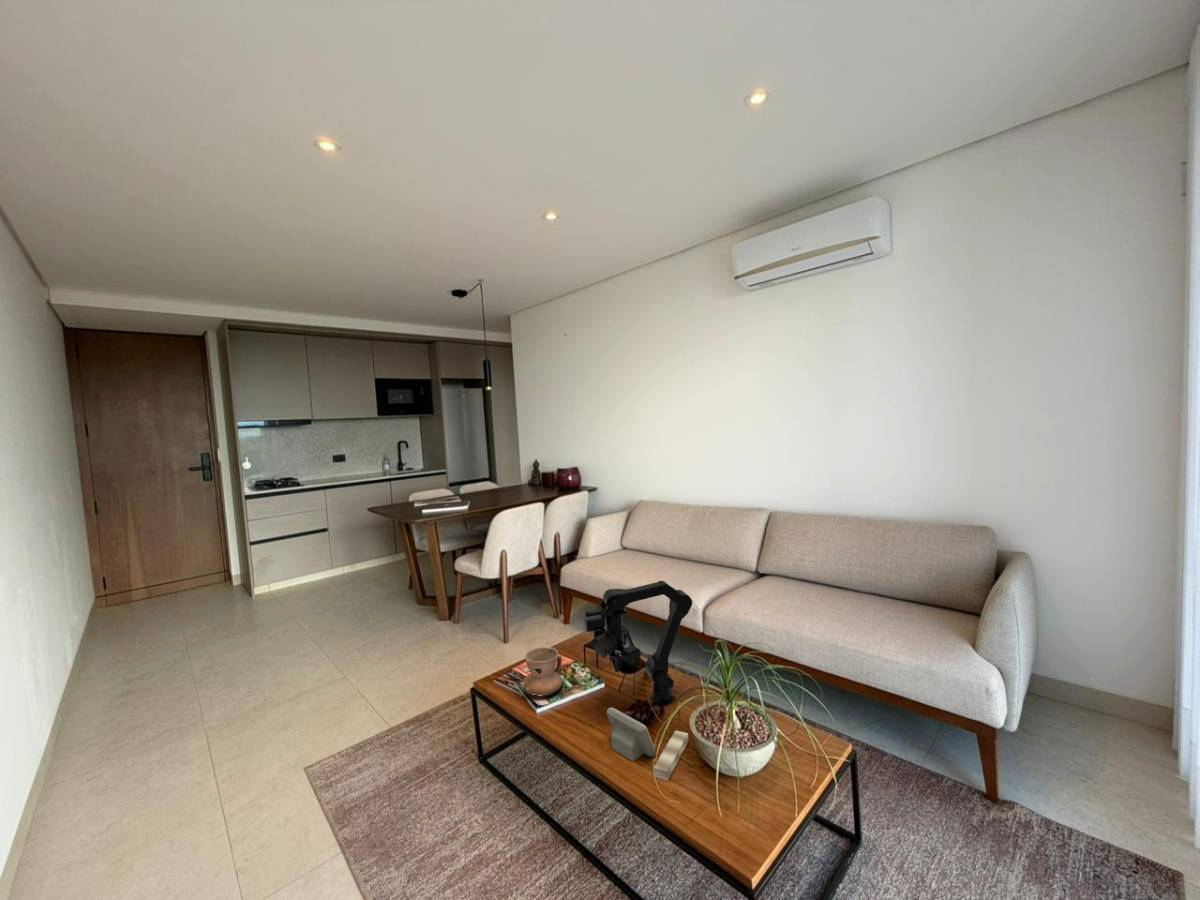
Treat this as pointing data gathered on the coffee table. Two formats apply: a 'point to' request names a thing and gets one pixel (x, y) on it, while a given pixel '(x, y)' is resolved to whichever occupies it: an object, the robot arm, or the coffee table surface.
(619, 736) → the digital clock
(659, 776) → the pale gray wavy block
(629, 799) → the coffee table surface
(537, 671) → the brown mug
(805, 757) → the coffee table surface
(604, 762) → the coffee table surface
